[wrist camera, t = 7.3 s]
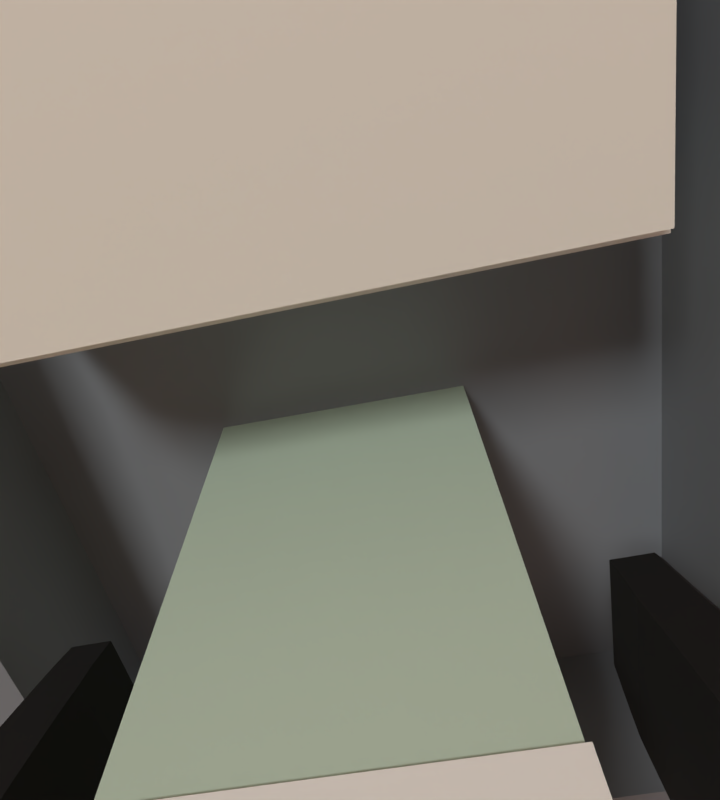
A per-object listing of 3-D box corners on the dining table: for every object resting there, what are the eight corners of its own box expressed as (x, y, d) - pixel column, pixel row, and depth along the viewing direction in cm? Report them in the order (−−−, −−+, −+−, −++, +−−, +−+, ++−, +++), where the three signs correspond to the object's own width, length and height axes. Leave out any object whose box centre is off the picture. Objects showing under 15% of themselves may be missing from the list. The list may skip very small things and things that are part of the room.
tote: (713, -931, 6) (1162, -2156, 3) (682, 635, 16) (778, 803, 12) (-476, -529, 7) (-1225, -1063, 4) (155, 715, 17) (103, 890, 13)
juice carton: (465, 382, 12) (637, 871, 5) (491, 575, 14) (639, 1122, 7) (220, 425, 12) (35, 940, 5) (279, 607, 14) (207, 1159, 7)
